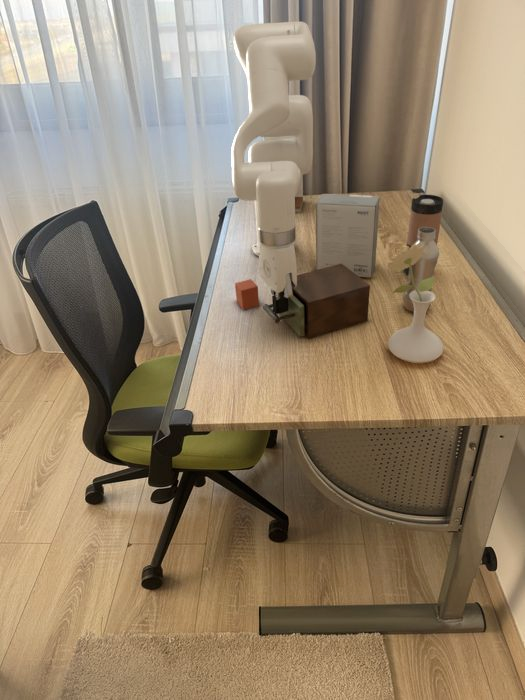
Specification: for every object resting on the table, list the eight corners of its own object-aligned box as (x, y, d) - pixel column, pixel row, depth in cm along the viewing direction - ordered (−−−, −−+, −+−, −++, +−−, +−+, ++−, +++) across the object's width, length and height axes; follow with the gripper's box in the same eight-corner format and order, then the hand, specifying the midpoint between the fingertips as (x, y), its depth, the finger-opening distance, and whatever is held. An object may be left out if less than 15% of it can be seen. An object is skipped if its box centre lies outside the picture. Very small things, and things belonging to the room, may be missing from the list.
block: (236, 302, 131) (234, 283, 128) (252, 297, 132) (251, 279, 129) (243, 310, 128) (241, 290, 124) (259, 305, 129) (257, 286, 126)
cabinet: (308, 339, 116) (308, 302, 110) (284, 313, 125) (283, 278, 120) (367, 321, 120) (370, 285, 115) (340, 297, 130) (341, 263, 124)
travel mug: (433, 279, 135) (445, 205, 123) (403, 278, 136) (412, 204, 124) (431, 266, 141) (442, 194, 129) (403, 265, 142) (411, 194, 130)
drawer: (280, 342, 113) (278, 312, 109) (259, 318, 122) (257, 290, 118) (355, 320, 119) (357, 290, 115) (330, 298, 128) (331, 270, 123)
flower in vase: (432, 335, 114) (450, 228, 99) (449, 366, 105) (471, 254, 90) (374, 339, 114) (383, 233, 99) (386, 370, 105) (397, 259, 90)
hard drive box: (375, 266, 143) (381, 195, 131) (371, 278, 137) (377, 206, 125) (321, 260, 147) (322, 192, 136) (314, 272, 141) (315, 202, 130)
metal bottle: (398, 303, 126) (406, 225, 114) (425, 300, 126) (436, 223, 115) (406, 316, 121) (416, 237, 109) (434, 314, 121) (447, 234, 109)
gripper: (246, 226, 110) (252, 301, 120) (276, 251, 99) (279, 331, 109) (278, 219, 112) (281, 293, 123) (310, 243, 101) (310, 322, 111)
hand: (280, 311), depth 116 cm, fingers closed
